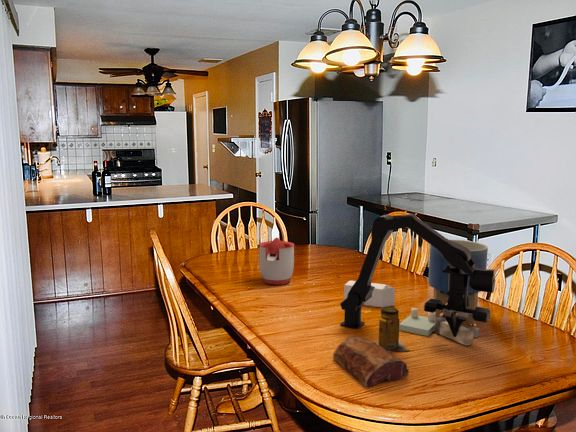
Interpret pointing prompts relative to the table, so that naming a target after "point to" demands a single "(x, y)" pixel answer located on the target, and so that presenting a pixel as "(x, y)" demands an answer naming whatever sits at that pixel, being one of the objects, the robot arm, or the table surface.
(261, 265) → the citrus juicer
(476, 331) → the stop block
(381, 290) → the milk carton
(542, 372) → the table surface
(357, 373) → the cured meat
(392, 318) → the condiment
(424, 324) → the stool seat
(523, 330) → the table surface
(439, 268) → the planter
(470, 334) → the leg
